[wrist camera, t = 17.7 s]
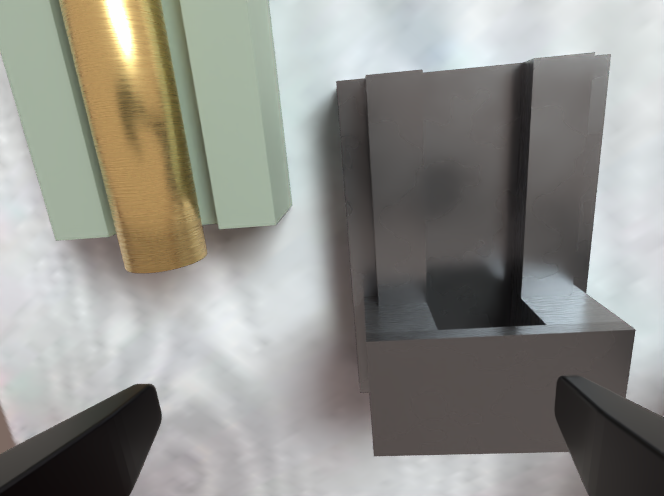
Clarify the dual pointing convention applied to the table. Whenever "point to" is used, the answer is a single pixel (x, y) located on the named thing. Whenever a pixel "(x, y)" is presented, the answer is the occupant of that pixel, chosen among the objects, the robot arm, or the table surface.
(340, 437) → the table surface
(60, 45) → the v block
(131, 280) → the table surface
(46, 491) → the robot arm
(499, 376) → the grey slotted block
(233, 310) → the table surface
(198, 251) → the axle
